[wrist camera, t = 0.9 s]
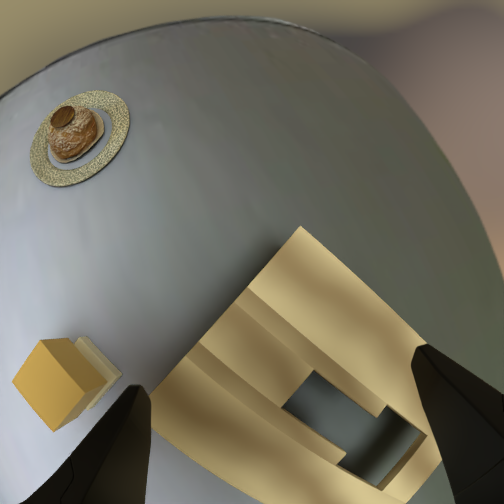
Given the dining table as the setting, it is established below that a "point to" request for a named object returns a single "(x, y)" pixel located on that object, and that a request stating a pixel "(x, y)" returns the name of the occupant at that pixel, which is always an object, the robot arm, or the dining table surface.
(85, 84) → the dining table surface
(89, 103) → the pastry
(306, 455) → the keyhole board
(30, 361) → the mustard yellow block
